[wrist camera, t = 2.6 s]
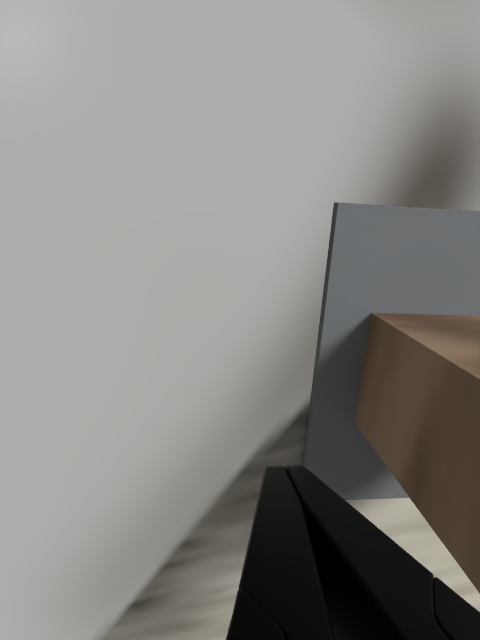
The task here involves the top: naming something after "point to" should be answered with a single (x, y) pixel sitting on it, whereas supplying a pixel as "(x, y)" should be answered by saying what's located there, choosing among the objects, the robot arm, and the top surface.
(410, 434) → the walnut block
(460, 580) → the top surface
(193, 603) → the top surface
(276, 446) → the top surface
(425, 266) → the gray flat panel
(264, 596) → the robot arm
